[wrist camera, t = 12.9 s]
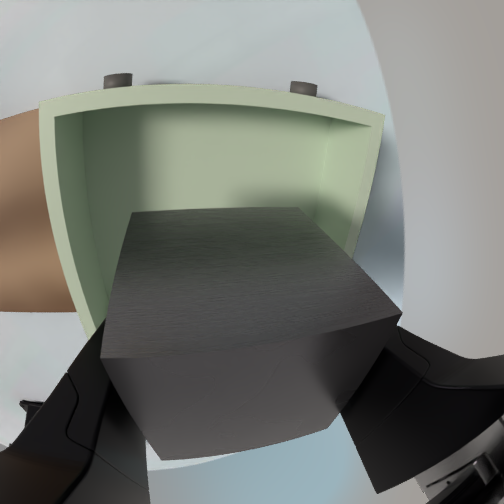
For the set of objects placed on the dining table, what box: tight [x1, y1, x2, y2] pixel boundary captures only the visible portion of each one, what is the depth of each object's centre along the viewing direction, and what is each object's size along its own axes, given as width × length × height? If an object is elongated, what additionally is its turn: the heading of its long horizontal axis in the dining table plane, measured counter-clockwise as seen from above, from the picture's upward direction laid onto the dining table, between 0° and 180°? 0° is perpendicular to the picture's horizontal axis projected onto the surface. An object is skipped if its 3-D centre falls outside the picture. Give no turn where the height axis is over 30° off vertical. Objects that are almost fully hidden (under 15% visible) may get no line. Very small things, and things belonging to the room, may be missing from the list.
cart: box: [39, 73, 385, 340], centre depth 12 cm, size 14×12×4 cm
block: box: [100, 207, 402, 460], centre depth 7 cm, size 5×5×5 cm
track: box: [0, 109, 77, 312], centre depth 13 cm, size 12×24×1 cm, turn 84°
